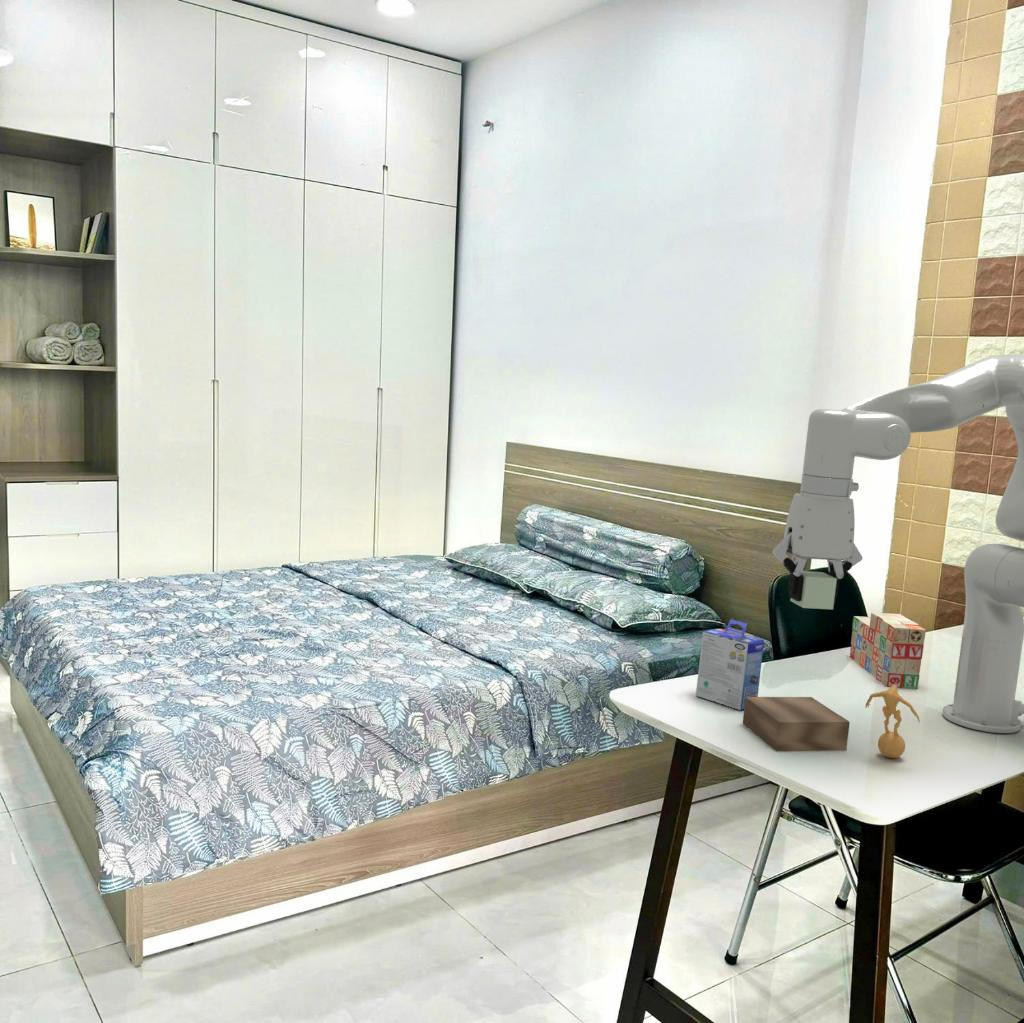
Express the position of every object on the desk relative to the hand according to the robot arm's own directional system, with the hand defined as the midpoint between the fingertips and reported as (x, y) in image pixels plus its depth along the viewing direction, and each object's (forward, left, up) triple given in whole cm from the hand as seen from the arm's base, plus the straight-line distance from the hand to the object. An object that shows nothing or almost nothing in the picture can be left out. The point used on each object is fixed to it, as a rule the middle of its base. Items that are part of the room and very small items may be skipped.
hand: (812, 599), depth 156 cm
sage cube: (0, 0, -1) cm, 1 cm away
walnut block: (+1, +1, -23) cm, 23 cm away
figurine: (-10, +10, -23) cm, 27 cm away
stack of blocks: (-35, -36, -23) cm, 55 cm away
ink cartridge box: (+6, -16, -23) cm, 28 cm away
